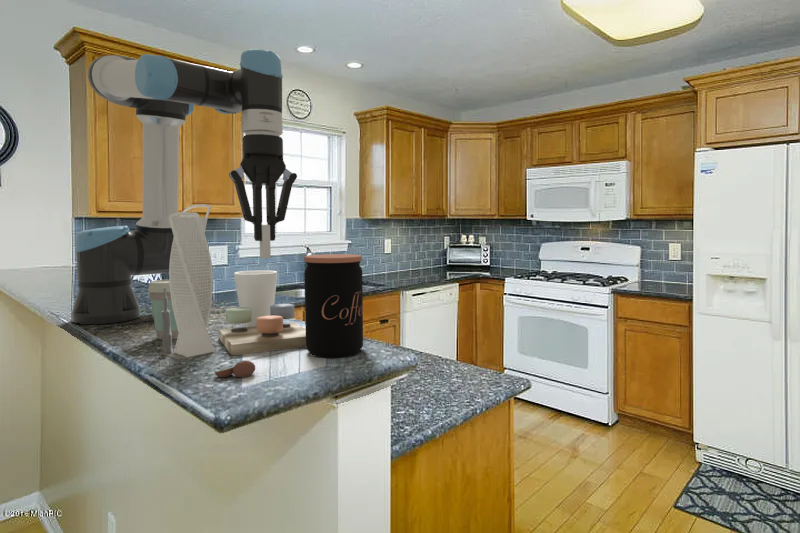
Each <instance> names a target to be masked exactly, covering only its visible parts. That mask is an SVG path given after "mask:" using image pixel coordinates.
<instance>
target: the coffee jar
mask: <svg viewBox="0 0 800 533" xmlns="http://www.w3.org/2000/svg"><path fill="white" fill-rule="evenodd" d="M303 259H304V262H305V264H306V268H304V274H303V276H304V278H303V280H304V315H305V316H304V318H305V319H304V321H305V329H306V346H305V348H306V350H307V351H308V353H309V354H310V355H311V356H313V357H316V358H321V357H322V358H323V359H339V358H348V357H352V356H355V355H357V354H359V353H360V351H361V350H362V348H363V347H364V315H363V314H364V313H363V312H364V311H363V310H364V309H363V307H364V304H363V302H364V301H363V300H364V298H363V295H364V294H363V268H362V267H361V266H360V264H361V262H362V261H363V256H362V255H361V254H353V253H351V254H350V253H347V254H346V253H341V254H340V253H337V254H336V253H335V254H334V253H328V254H326V253H325V254H324V253H323V254H311V255H305V256H303Z"/></svg>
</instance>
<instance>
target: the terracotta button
mask: <svg viewBox="0 0 800 533" xmlns="http://www.w3.org/2000/svg"><path fill="white" fill-rule="evenodd" d="M283 323H284V320H283V317H282V316H262V317H258V318H257V332H259V333H276V332H280V331H283Z"/></svg>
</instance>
